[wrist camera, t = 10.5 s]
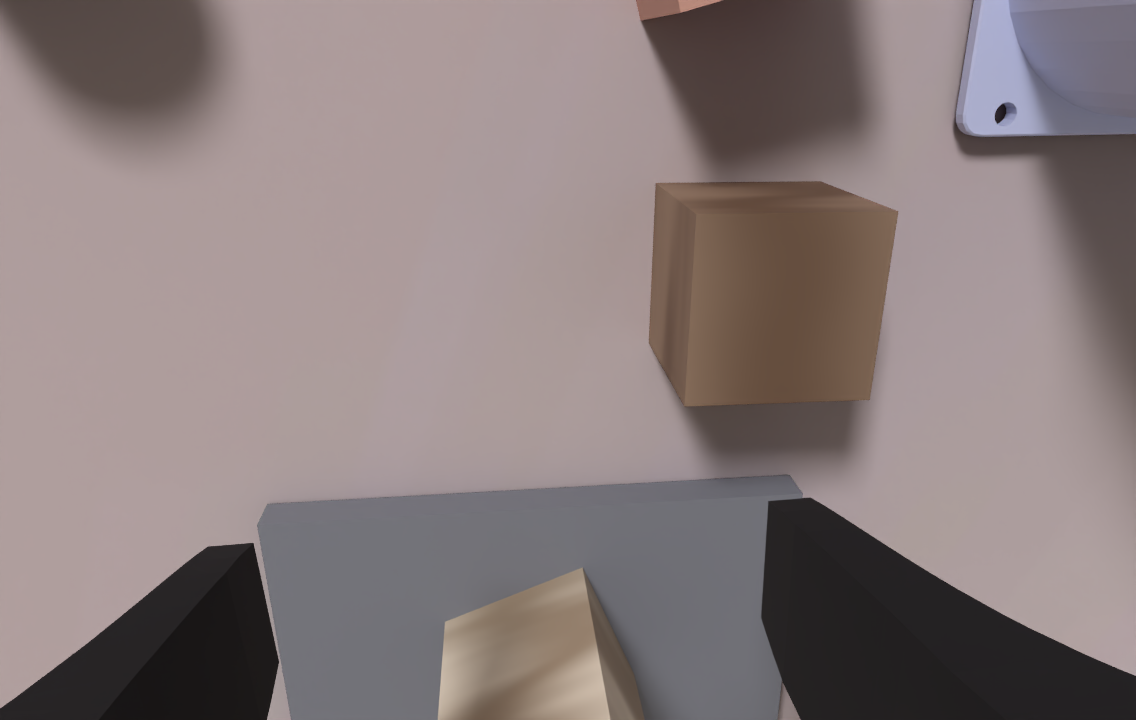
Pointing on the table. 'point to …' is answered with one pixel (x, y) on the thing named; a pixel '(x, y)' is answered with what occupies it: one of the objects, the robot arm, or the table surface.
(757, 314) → the walnut block
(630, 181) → the table surface
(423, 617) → the charcoal mat
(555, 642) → the pale birch block
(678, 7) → the terracotta block
